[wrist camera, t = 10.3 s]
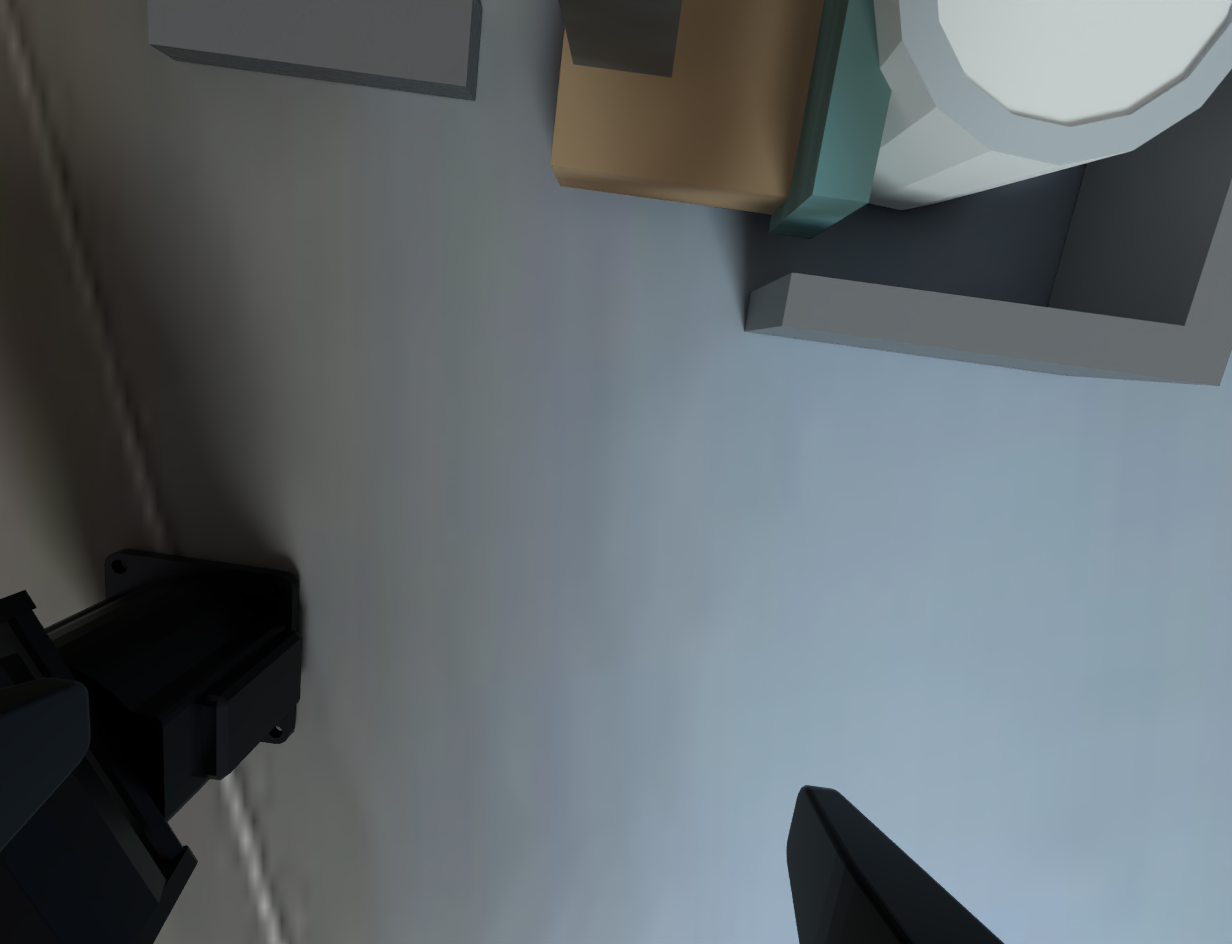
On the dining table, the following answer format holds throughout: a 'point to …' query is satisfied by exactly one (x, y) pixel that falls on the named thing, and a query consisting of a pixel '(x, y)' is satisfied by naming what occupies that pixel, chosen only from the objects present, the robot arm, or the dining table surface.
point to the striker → (724, 105)
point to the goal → (1073, 278)
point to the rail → (330, 40)
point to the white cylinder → (1034, 86)
